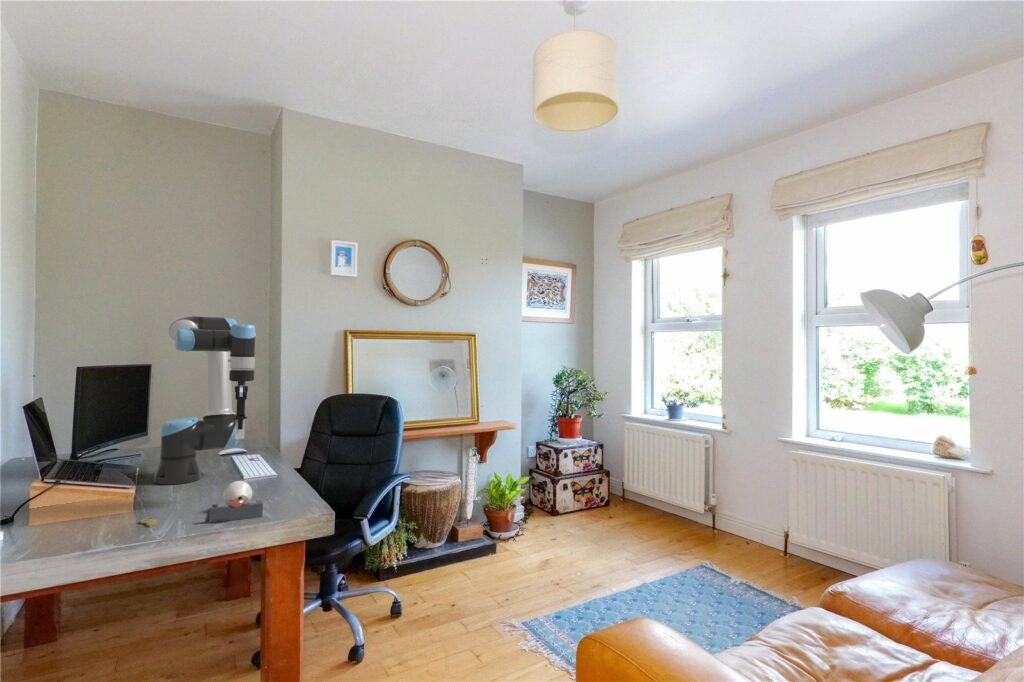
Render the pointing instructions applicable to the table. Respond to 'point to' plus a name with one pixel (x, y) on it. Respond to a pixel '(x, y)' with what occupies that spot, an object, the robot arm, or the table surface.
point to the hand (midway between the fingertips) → (239, 438)
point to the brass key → (148, 522)
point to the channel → (236, 510)
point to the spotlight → (238, 492)
